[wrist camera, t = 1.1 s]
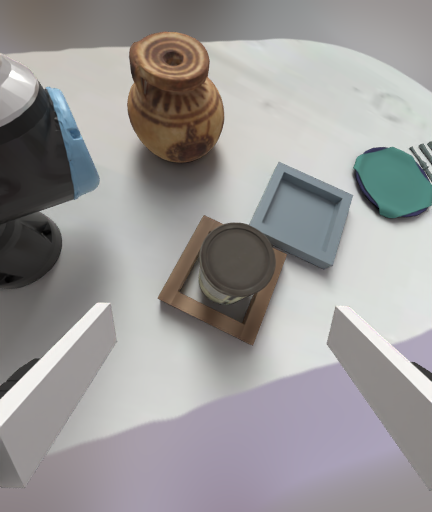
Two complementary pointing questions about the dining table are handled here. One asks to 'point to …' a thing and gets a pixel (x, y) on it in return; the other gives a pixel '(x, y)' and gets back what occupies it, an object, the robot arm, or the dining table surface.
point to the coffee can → (235, 263)
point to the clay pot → (174, 97)
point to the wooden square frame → (186, 304)
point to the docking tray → (302, 215)
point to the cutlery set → (395, 181)
